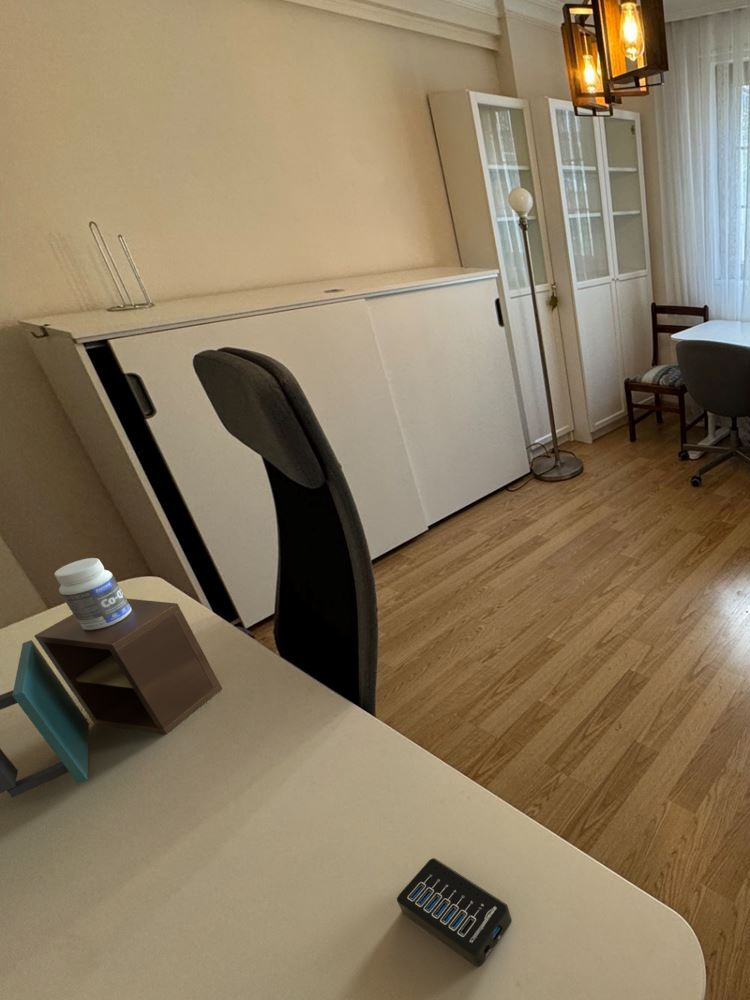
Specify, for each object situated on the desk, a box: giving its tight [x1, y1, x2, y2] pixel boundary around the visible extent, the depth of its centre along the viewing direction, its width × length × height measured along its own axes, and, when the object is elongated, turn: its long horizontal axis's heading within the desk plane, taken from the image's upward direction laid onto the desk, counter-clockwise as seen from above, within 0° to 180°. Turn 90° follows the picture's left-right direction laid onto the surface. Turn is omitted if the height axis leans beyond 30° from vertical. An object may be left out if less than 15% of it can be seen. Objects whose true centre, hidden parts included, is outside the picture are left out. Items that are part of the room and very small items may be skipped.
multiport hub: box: [396, 857, 513, 968], centre depth 55 cm, size 4×11×2 cm, turn 65°
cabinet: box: [33, 597, 223, 735], centre depth 77 cm, size 12×8×16 cm, turn 82°
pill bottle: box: [54, 557, 132, 630], centre depth 72 cm, size 5×5×8 cm
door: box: [0, 639, 90, 798], centre depth 67 cm, size 12×7×15 cm, turn 46°
